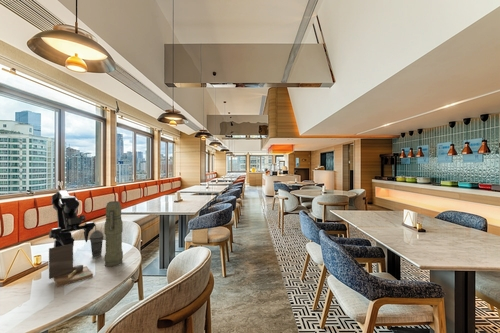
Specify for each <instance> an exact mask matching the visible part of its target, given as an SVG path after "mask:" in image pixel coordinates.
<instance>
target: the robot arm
mask: <svg viewBox="0 0 500 333" xmlns="http://www.w3.org/2000/svg"><path fill="white" fill-rule="evenodd" d="M50 200H51V201H50V202H51V204H50V205H52V208H53V209H54V210H56V220H57V227H55V228H54V227H53V228H51V229H50V231H49V233H48V237H49V239H53V240H54V243H53V247H58V246H63V245H68V244H73V247H74V243H75V239H74V237H73V236H72V232H75V231H80V230H83V235H84V240H85V243H87V242H88V239H89V236H90V234H89V233H90V232H91V231H92V230H94V229H95V222H94V221H90V222H85V221H86V215H85V214H81V215H79V216H78V215H77V211H78V209H79V206H80V201H79V199H77V197H76V196H74V195H70V194H69V191H68V190H65V189H63V190H56V193H54V194H52V196H51V199H50ZM82 222H85V223H84V224H83V225H81V224H82Z"/></svg>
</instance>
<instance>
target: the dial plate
mask: <svg viewBox="0 0 500 333" xmlns="http://www.w3.org/2000/svg"><path fill="white" fill-rule="evenodd" d="M69 274H71V273H69ZM69 274H66V275H62V276H59V277H55V278H53V280H54V282H55V285H56V287H57V288H59V287H60V288H61V287H63V286H66V285H71V284H73V283H76V282H79V281H83V280H87V279H90V278H93V276H94V274H93V272H92V271H91V270H90V268H88V266H83V270H82V271H80V272H76V273H75V274H74V275H73V276H71V277H70V278H68V275H69Z"/></svg>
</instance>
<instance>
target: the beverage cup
mask: <svg viewBox="0 0 500 333" xmlns="http://www.w3.org/2000/svg"><path fill="white" fill-rule="evenodd" d="M94 223H95V222H94ZM96 225H97V224H96V223H95V226H94V231H92V232H91V234H89V241H90V248H91V256H92V258H98V257H101V256H102V250H103V240H104V237H105V235H104V233H103V232H102V231H101V230H99V229H98V230H97V226H96Z"/></svg>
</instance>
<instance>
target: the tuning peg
mask: <svg viewBox="0 0 500 333" xmlns="http://www.w3.org/2000/svg"><path fill="white" fill-rule="evenodd" d="M83 267H84V264H79V265H74V246H73V244H68V245H63V246H58V247H54V246H53V247H49V248H48V279H49V280H51V279H54V278H55V277H59V276H62V275H66V274H69V273H71V274H69V275H68V278H70V277H71V276H73V275H74V274H75V273H76V272H80V271H82V270H83Z"/></svg>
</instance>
